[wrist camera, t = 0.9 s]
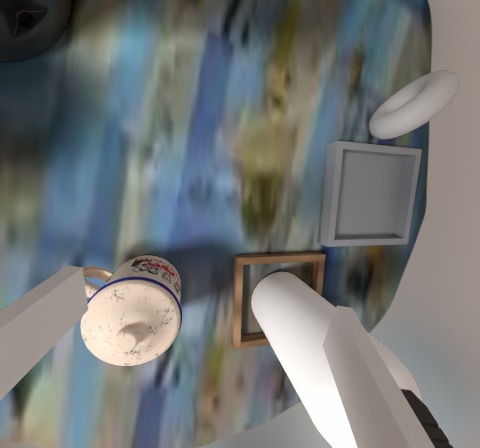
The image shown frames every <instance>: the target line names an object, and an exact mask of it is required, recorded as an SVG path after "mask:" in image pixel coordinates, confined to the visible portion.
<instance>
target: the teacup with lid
mask: <svg viewBox="0 0 480 448" xmlns="http://www.w3.org/2000/svg"><path fill="white" fill-rule="evenodd" d="M82 268H83V274H84V277H95V278H99V279H101V280H104V281H106V282H107V283H106V284H105V285H104V286H103V287H102V288H100V287H98V286H96V285H94V284H92V283H90V282H88V281H87V280H86V279H85V278H84V281H85V289H86V296H87V297H89V298H90V299H89V301H88V302H87V304H88V311H87V312H86V313H85V314H84V315H83V316H82V318H81V334H82V337H83V340H84V342H85V344H86V346H87V347H88V349H89V350H90V351H91V352H92V353H93V354H94V355H95V356H96V357H98V358H99V359H101V360H103V361H105V362H107V363H110V364H114V365H120V366H132V365H139V364H142V363H145V362H148V361H150V360H152V359H154V358H156V357H158V356H159V355H161V354H162V353H163V352H164V351H166V350H167V349H168V348H169V346H170V345H171V344H172V343H173V341H174V340H175V338H176V337H177V335H178V333H179V330H180V327H181V322H182V311H181V306H180V296H181V280H180V276H179V273H178V271H177V270H176V268H175V267H174V266H173V265H172V264H171V263H170V262H168V261H167V260H165V259H163V258H161V257H157V256H151V255H145V256H139V257H135V258H133V259H130V260H129V261H127V262H125V263H124V264H123V265H122V266H121V267H120V268H119V269H118V270H117V271H116V272H115V273H113V272H111V271H109V270H107V269H104V268H101V267H96V266H85V267H82Z"/></svg>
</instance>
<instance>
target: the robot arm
mask: <svg viewBox="0 0 480 448" xmlns="http://www.w3.org/2000/svg"><path fill="white" fill-rule="evenodd" d="M71 1H72V0H0V61H18V60H24V59H28V58H31V57H34V56H36V55H38V54H41V53H42V52H44V51H46V50H47V49H48V48H50V47H51V46H52V45H53V44H54V43H55V42H56V41H57V40H58V39H59V38H60V36H61V35H62V33H63V32H64V30H65V28H66V25H67V23H68V20H69V16H70V12H71ZM87 311H88V304H87V296H86V289H85V281H84V274H83V268H82V267H75V266H69V265H68V266H66V267H65V268H63V269H62V270H60V271H59V272H57V273H56V274H54V275H53V276H51V277H50V278H48V279H47V280H45V281H44V282H42V283H41V284H39V285H38V286H36V287H35V288H33V289H32V290H30V291H29V292H27V293H26V294H24V295H23V296H21V297H20V298H18V299H17V300H16V301H14V302H13V303H11V304H10V305H8V306H7V307H5V308H4V309H2V310H1V311H0V400H1V399H2V398H3V397H4V396H5V395H6V394H7V393H8V392H9V391H10V390H11V389H12V388H13V387H14V386H15V385H16V384H17V383H18V382H19V381H20V380H21V379H22V378H23V377H24V376H25V375H26V374H27V373H28V372H29V370H30V369H31V368H32V367H33V366H34V365H35V364H36V363H37V362H38V361H39V360H40V359H41V358H42V357H43V356H44V355H45V354H46V353H47V352H48V351H49V350H50V349H51V348H52V347H53V346H54V345H55V344H56V343H57V342H58V341H59V340H60V339H61V338H62V337H63V336H64V335H65V334H66V333H67V332H68V330H69V329H70V328H71V327H72V326H73V325H74V324H75V323H76V322H77V321H78V320H79V319H80V318H81V317H82V316H83V315H84V314H85V313H86V312H87ZM323 348H324V351H325V354H326V357H327V360H328V363H329V366H330V369H331V372H332V375H333V378H334V381H335V384H336V386H337V389H338V392H339V395H340V398H341V401H342V404H343V407H344V410H345V413H346V416H347V419H348V422H349V424H350V427H351V430H352V433H353V436H354V439H355V442H356V445H357V448H453V446H452V445H450V444H449V441H448V439H447V437H446V436H445V435H444V433H443V431H442V430H441V429H440V428H439V427H438V424H437V422H436V420H435V419H434V417H433V416H432V414H431V413H430V411H429V410H428V408H427V407H426V406H425V405H424V403H423V402H422V401H421V400H420V399H419V398H418V397H417V396H416V395H415V394H414V393H413V392H412V391H411V390H406V389H400V388H399V386H398V385H397V383H396V381H395V380H394V378H393V376H392V375H391V373H390V371H389V370H388V368H387V366H386V364H385V363H384V361H383V359H382V358H381V356H380V354H379V353H378V351H377V349H376V348H375V346H374V344H373V343H372V341H371V339H370V338H369V336H368V334H367V333H366V331H365V329H364V328H363V326H362V324H361V322H360V321H359V319H358V317H357V316H356V314H355V312H354V311H353V309H352V308H349V307H342V306H337V307H336V310H335V312H334V315H333V318H332V321H331V323H330V326H329V329H328V332H327V334H326V337H325V340H324V342H323Z"/></svg>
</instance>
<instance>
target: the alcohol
mask: <svg viewBox="0 0 480 448" xmlns="http://www.w3.org/2000/svg"><path fill="white" fill-rule="evenodd" d="M251 305H252V310H253V313H254V315H255V317H256V319H257V320H258V322H259V324H260V326H261V328H262V330H263V331H264V333H265V335H266V337H267V339H268V341H269V342H270V344H271V346H272V348H273V350H274V351H275V353H276V355H277V357H278V359H279V361H280V362H281V364H282V366H283V368H284V370H285V372H286V373H287V375H288V377H289V379H290V381H291V382H292V384H293V386H294V388H295V390H296V392H297V393H298V395H299V397H300V399H301V401H302V403H303V404H304V406H305V408H306V410H307V412H308V413H309V415H310V417H311V419H312V421H313V423H314V424H315V426H316V428H317V429H318V431H319V432H320V433H321V434H322V436H323V437H324V438H325V439H326V440H327V441H328V442H329V444H330V445H331V446H332V447H333V448H357V445H356V442H355V439H354V436H353V433H352V430H351V427H350V424H349V422H348V419H347V416H346V413H345V410H344V407H343V404H342V401H341V398H340V395H339V392H338V389H337V386H336V384H335V381H334V378H333V375H332V372H331V369H330V366H329V363H328V360H327V357H326V354H325V351H324V348H323V342H324V340H325V337H326V334H327V332H328V329H329V326H330V323H331V321H332V318H333V315H334V312H335V310H336V307H334V306H333V305H332V304H330V303H329V302H328V301H327V300H325V299H324V298H323V297H322V296H320V295H319V294H318V293H317V292H315V291H314V290H313V289H311V288H310V287H309V286H308V285H306V284H305V283H304V282H303V281H301V280H300V279H299V278H297V277H296V276H295V275H293V274H291V273H288V272H276V273H273V274H270V275H268V276H267V277H265V278H264V279H263V280H262V281H260V282H259V284H258V285H257V286H256V288H255V290H254V292H253V295H252V301H251ZM366 333H367V332H366ZM367 334H368V333H367ZM368 336H369V338H370V339H371V341H372V343H373V344H374V346H375V348H376V349H377V351H378V353H379V354H380V356H381V358H382V359H383V361H384V363H385V364H386V366H387V368H388V370H389V371H390V373H391V375H392V376H393V378H394V380H395V381H396V383H397V385H398V386H399V388H400V389H406V390H411V391H412V392H413V393H414V394H415V395H416V396H417V397H418V398H419V399H420V400H421V401H422V398H421V395H420V392H419V390H418V388H417V385H416V383H415V381H414V378H413V376H412V375H411V374H410V372H409V371H408V370H407V369H406V367H405V366H404V365H403V364H402V363H401V361H399V359H398V358H397V357H396V356H395V354H394V353H392V352H391V351H390V350H389V349H387V348H386V347H385V346H384V345H382V344H381V343H380V342H379V341H377V340H376V339H375V338H373V337H372V336H371V335H370V334H368ZM422 402H423V401H422ZM449 444H450V445H452V444H451V443H450V442H449ZM452 446H453V445H452ZM453 448H454V446H453Z"/></svg>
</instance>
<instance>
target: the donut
mask: <svg viewBox="0 0 480 448" xmlns="http://www.w3.org/2000/svg"><path fill="white" fill-rule="evenodd" d="M458 87H459V79H458V76H457V75H456V74H455V73H452V72H450V71H447V70H440V71H436V72H432V73H429V74H427V75H425V76H422V77H420V78H418V79H417V80H415V81H413V82H411V83H410V84H408V85H406V86H405V87H403V88H402V89H400V90H399V91H398V92H396V93H395V94H394V95H392V96H391V97H390V98H389V99H388V100H386V101H385V102H384V103H383V104H382V105H381V106H380V107H379V108H378V109H377V110H376V112H375V113H374V114H373V116H372V117H371V120H370V122H369V130H370V133H371V135H372V136H373V137H376V138H379V139H391V138H395V137H398V136H401V135H404V134H406V133H408V132H410V131H412V130H414V129H416V128H418V127H420V126H421V125H423V124H425V123H426V122H428V121H429V120H431V119H432V118H433V117H434V116H436V115H437V114H439V113H440V112H441V111H442V110H443V109H444V108H445V107H446V106H447V105H448V104H449V103H450V102H451V101H452V99H453V98H454V96H455V95H456V93H457V91H458Z"/></svg>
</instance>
